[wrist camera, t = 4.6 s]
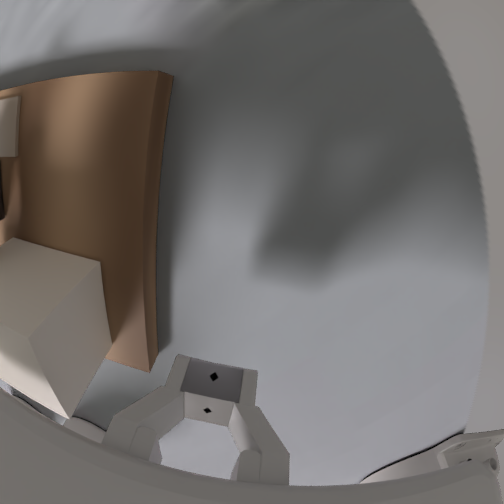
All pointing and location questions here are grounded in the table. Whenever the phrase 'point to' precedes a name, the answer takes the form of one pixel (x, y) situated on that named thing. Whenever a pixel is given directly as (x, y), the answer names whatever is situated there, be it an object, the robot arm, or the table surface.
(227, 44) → the table surface
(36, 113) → the wooden tray
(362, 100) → the table surface
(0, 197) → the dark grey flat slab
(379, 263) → the table surface
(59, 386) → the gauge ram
